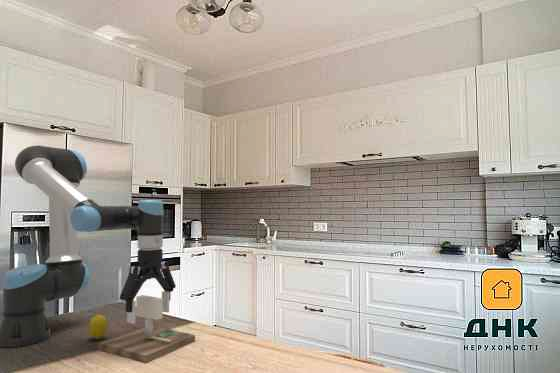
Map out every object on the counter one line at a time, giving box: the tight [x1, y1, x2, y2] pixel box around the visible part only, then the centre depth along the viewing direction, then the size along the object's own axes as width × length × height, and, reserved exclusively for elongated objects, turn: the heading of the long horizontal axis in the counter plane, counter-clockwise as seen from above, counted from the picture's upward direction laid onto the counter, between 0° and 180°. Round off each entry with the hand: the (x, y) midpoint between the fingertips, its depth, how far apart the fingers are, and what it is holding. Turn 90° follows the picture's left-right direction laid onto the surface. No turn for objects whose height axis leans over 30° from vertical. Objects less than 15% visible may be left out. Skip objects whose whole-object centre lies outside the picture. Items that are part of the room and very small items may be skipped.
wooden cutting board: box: [98, 325, 196, 364], centre depth 121 cm, size 20×20×2 cm
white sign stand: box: [135, 294, 171, 342], centre depth 120 cm, size 14×2×12 cm, turn 61°
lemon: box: [88, 313, 108, 340], centre depth 127 cm, size 6×6×8 cm
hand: (149, 317), depth 121 cm, fingers open, 13 cm apart
